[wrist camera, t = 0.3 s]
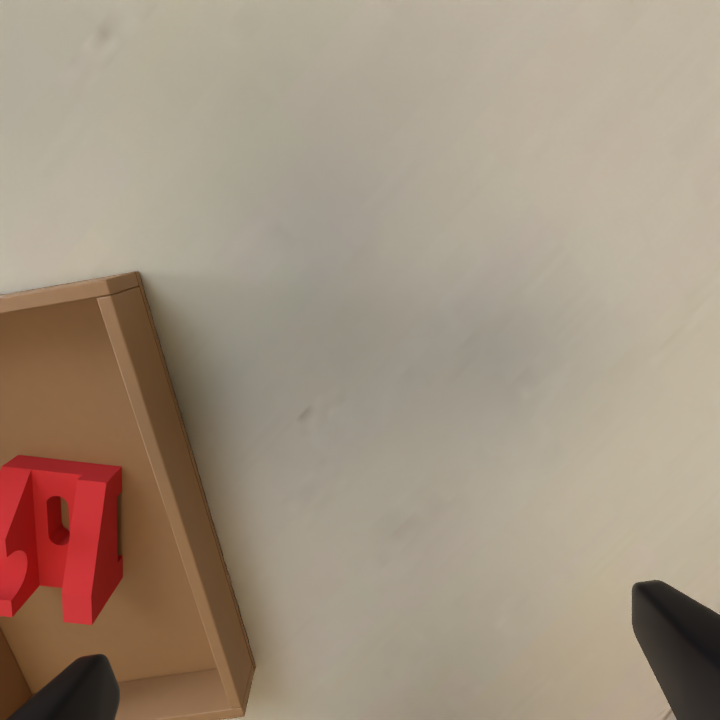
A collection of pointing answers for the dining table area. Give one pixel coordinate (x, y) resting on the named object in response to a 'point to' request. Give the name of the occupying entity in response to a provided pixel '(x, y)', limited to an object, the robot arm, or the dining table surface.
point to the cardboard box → (119, 507)
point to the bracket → (59, 534)
